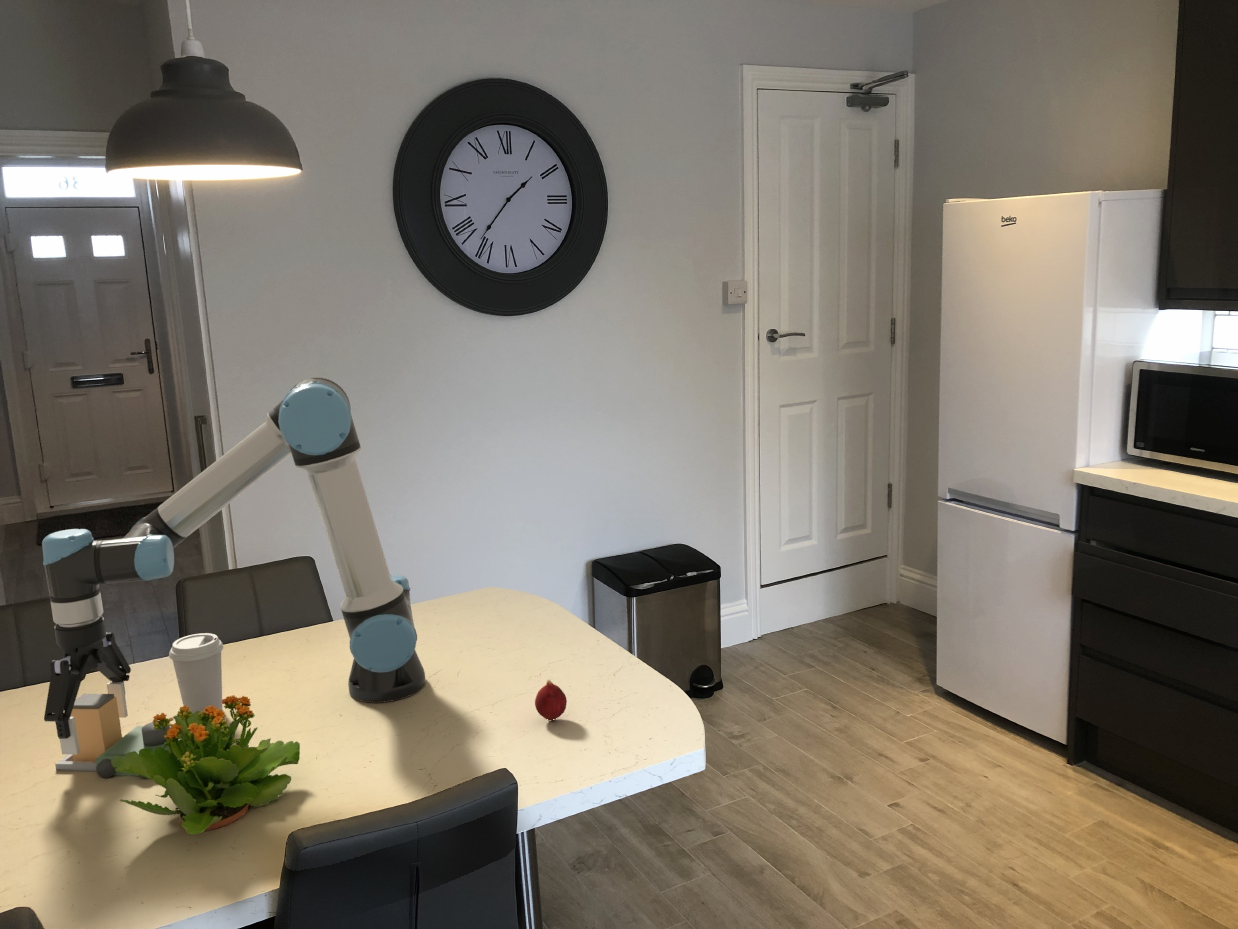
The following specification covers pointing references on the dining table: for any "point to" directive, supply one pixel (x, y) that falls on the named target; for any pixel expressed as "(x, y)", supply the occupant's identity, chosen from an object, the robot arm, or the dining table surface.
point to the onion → (550, 701)
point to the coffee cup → (198, 670)
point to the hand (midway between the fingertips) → (96, 734)
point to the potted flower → (211, 766)
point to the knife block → (96, 725)
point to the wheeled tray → (118, 751)
